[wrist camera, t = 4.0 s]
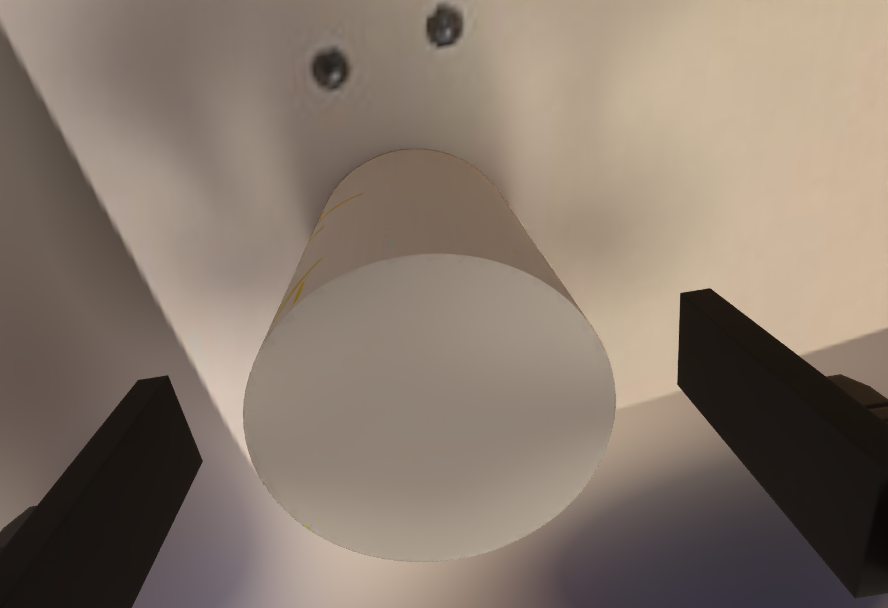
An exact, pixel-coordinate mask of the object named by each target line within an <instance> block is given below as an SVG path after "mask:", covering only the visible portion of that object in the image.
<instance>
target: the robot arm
mask: <svg viewBox="0 0 888 608" xmlns="http://www.w3.org/2000/svg"><path fill="white" fill-rule="evenodd" d="M677 385H678V386H679V387H680V388H681V390H682V391H683V392H684V393H685V394H686V396H687V397H688V398H689V399H690V400H691V402H692V403H693V404H694V405H695V406H696V408H697V409H698V410H699V411H700V412H701V414H702V415H703V416H704V417H705V418H706V419H707V421H708V422H709V423H710V424H711V426H712V427H713V428H714V429H715V430H716V432H717V433H718V434H719V435H720V436H721V438H722V439H723V440H724V441H725V442H726V444H727V445H728V446H729V447H730V448H731V450H732V451H733V452H734V453H735V454H736V455H737V457H738V458H739V459H740V461H742V463H743V464H744V465H745V467H747V469H748V470H749V471H750V473H751V474H752V475H753V476H754V477H755V478H756V480H757V481H758V482H759V483H760V485H761V486H762V487H763V488H764V489H765V491H766V492H767V493H768V494H769V495H770V497H771V498H772V499H773V500H774V501H775V503H776V504H777V505H778V506H779V507H780V509H781V510H782V511H783V512H784V513H785V515H786V516H787V517H788V518H789V519H790V521H791V522H792V523H793V524H794V525H795V527H796V528H797V529H798V530H799V532H800V533H801V534H802V535H803V536H804V537H805V539H806V540H807V541H808V542H809V544H810V545H811V546H812V547H813V548H814V550H816V552H817V553H818V554H819V556H820V557H821V558H822V559H823V560H824V561H825V563H826V564H827V565H828V566H829V568H830V569H831V570H832V571H833V572H834V574H835V575H836V576H837V577H838V578H839V579H840V581H841V582H842V583H843V584H844V586H845V587H846V588H847V589H848V590H849V592H850V593H851V594H852V595H853V596H854V598H859V597H866V596H872V595H878V594H884V593H888V399H887V398H885V397H884V396H882V395H881V394H880V393H878V392H877V391H875V390H874V389H873V388H871V387H870V386H868V385H865V384H863V383H861V382H858V381H855V380H853V379H851V378H848V377H846V376H843V375H841V374H840V375H833V376H828V377H826V376H824V375H823V374H821V373H820V372H819V371H818V370H816V369H815V368H814V367H812V366H811V365H810V364H809V363H807V362H806V361H805V360H803V359H802V358H801V357H799V356H798V355H797V354H796V353H794V352H793V351H792V350H790V349H789V348H788V347H786V346H785V345H784V344H782V343H781V342H780V341H778V340H777V339H776V338H775V337H773V336H772V335H771V334H769V333H768V332H767V331H765V330H764V329H763V328H761V327H760V326H759V325H758V324H756V323H755V322H754V321H752V320H751V319H750V318H748V317H747V316H746V315H744V314H743V313H742V312H741V311H739V310H738V309H737V308H735V307H734V306H733V305H731V304H730V303H729V302H727V301H726V300H725V299H724V298H722V297H721V296H720V295H718V294H717V293H716V292H714V291H713V290H712V289H710V288H709V289H703V290H697V291H690V292H684V293H680V321H679V352H678V382H677ZM202 462H203V461H202V458H201V456H200V453H199V451H198V448H197V446H196V443H195V441H194V438H193V436H192V434H191V431H190V428H189V426H188V423H187V421H186V419H185V416H184V414H183V411H182V409H181V406H180V404H179V401H178V399H177V396H176V394H175V391H174V389H173V386H172V384H171V382H170V379H169V377H168V376H161V377H155V378H149V379H143V380H138V381H137V382H136V383H135V385H134V386H133V387H132V388H131V390H130V391H129V392H128V393H127V395H126V396H125V397H124V398H123V400H122V401H121V402H120V403H119V405H118V406H117V407H116V408H115V409H114V411H113V412H112V413H111V414H110V416H109V417H108V418H107V419H106V421H105V422H104V423H103V425H102V426H101V427H100V428H99V429H98V431H97V432H96V433H95V435H94V436H93V437H92V438H91V439H90V441H89V442H88V443H87V444H86V446H85V447H84V448H83V449H82V451H81V452H80V453H79V454H78V456H77V457H76V458H75V460H74V461H73V462H72V463H71V464H70V466H69V467H68V468H67V469H66V471H65V472H64V473H63V474H62V476H61V477H60V478H59V479H58V481H57V482H56V483H55V484H54V486H53V487H52V488H51V489H50V491H49V492H48V493H47V494H46V495H45V497H44V498H43V499H42V501H41V502H40V503H39V504H38V506H32V507H29V508H28V509H27V510H25V511H24V512H23V513H22V514H21V515H19V516H18V517H17V518H15V519H14V520H13V521H12V522H10V523H9V524H8V525H7V526H6V527H4V528H3V529H2V531H1V532H0V608H132V606H133V604H134V602H135V600H136V598H137V596H138V593H139V592H140V589H141V587H142V585H143V583H144V581H145V579H146V577H147V575H148V573H149V571H150V569H151V567H152V565H153V563H154V561H155V559H156V557H157V554H158V552H159V550H160V548H161V546H162V544H163V542H164V540H165V538H166V536H167V534H168V532H169V530H170V528H171V526H172V523H173V522H174V519H175V517H176V515H177V513H178V511H179V509H180V507H181V505H182V503H183V501H184V499H185V497H186V495H187V493H188V491H189V489H190V486H191V484H192V482H193V480H194V478H195V476H196V474H197V472H198V470H199V468H200V466H201V464H202Z"/></svg>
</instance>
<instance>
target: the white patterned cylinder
mask: <svg viewBox="0 0 888 608" xmlns="http://www.w3.org/2000/svg"><path fill="white" fill-rule="evenodd" d="M615 408H616V394H615V383H614V378H613V373H612V369H611V365H610V362H609V359H608V356H607V354H606V351H605V349H604V347H603V345H602V343H601V341H600V339H599V337H598V335H597V334H596V332H595V331H594V329H593V327H592V326H591V324H590V323H589V322H588V320H587V319H586V317H585V316H584V314H583V313H582V311H581V310H580V308H579V307H578V306H577V304H576V303H575V301H574V300H573V298H572V297H571V295H570V294H569V293H568V291H567V290H566V288H565V287H564V285H563V284H562V282H561V281H560V280H559V278H558V277H557V275H556V274H555V272H554V271H553V269H552V268H551V267H550V265H549V264H548V262H547V261H546V259H545V258H544V256H543V255H542V253H541V252H540V251H539V249H538V248H537V246H536V245H535V243H534V242H533V240H532V239H531V238H530V236H529V235H528V233H527V232H526V230H525V229H524V227H523V226H522V225H521V223H520V222H519V220H518V219H517V217H516V216H515V214H514V213H513V211H512V210H511V209H510V207H509V206H508V204H507V203H506V201H505V200H504V198H503V197H502V196H501V194H500V193H499V191H498V190H497V189H496V187H495V186H494V185H493V183H492V182H491V181H490V180H489V179H488V178H487V177H486V176H485V175H484V174H483V173H481V172H480V171H479V170H478V169H476V168H475V167H473V166H472V165H470V164H469V163H467V162H465V161H463V160H462V159H459V158H457V157H455V156H452V155H449V154H446V153H443V152H439V151H433V150H426V149H406V150H399V151H394V152H390V153H386V154H383V155H380V156H378V157H375V158H373V159H371V160H369V161H367V162H365V163H364V164H362V165H360V166H359V167H357V168H356V169H355V170H353V171H352V172H351V173H350V174H349V175H347V176H346V177H345V178H344V179H343V180H342V181H341V182H340V184H339V185H338V186H337V187H336V189H335V190H334V191H333V193H332V194H331V196H330V198H329V199H328V201H327V203H326V205H325V207H324V210H323V212H322V214H321V216H320V218H319V221H318V223H317V225H316V227H315V229H314V232H313V234H312V236H311V238H310V240H309V243H308V245H307V247H306V249H305V251H304V254H303V256H302V258H301V260H300V262H299V265H298V267H297V269H296V271H295V273H294V276H293V278H292V280H291V282H290V284H289V286H288V289H287V291H286V293H285V295H284V297H283V300H282V302H281V304H280V306H279V308H278V311H277V313H276V315H275V317H274V319H273V322H272V324H271V326H270V328H269V330H268V333H267V335H266V337H265V339H264V341H263V344H262V346H261V348H260V350H259V352H258V355H257V357H256V359H255V361H254V363H253V366H252V369H251V372H250V374H249V378H248V382H247V386H246V390H245V397H244V406H243V424H244V433H245V439H246V443H247V448H248V451H249V454H250V457H251V460H252V463H253V465H254V467H255V469H256V471H257V473H258V475H259V477H260V479H261V481H262V482H263V484H264V485H265V487H266V488H267V490H268V491H269V493H270V494H271V495H272V497H273V498H274V499H275V500H276V501H277V503H278V504H279V505H280V506H281V507H282V508H283V509H284V510H285V511H286V512H287V513H288V514H289V515H291V516H292V517H293V518H294V519H295V520H296V521H298V522H299V523H300V524H302V525H303V526H304V527H306V528H307V529H309V530H310V531H312V532H313V533H315V534H317V535H318V536H320V537H322V538H324V539H326V540H328V541H330V542H332V543H334V544H336V545H338V546H341V547H343V548H346V549H348V550H351V551H354V552H358V553H361V554H364V555H368V556H373V557H377V558H382V559H389V560H396V561H407V562H437V561H447V560H454V559H461V558H465V557H471V556H475V555H479V554H482V553H486V552H489V551H492V550H495V549H498V548H500V547H503V546H506V545H508V544H510V543H513V542H515V541H517V540H519V539H521V538H523V537H525V536H527V535H528V534H530V533H532V532H534V531H535V530H537V529H539V528H540V527H542V526H543V525H544V524H546V523H548V522H549V521H550V520H552V519H553V518H554V517H555V516H557V515H558V514H559V513H560V512H562V511H563V510H564V509H565V508H566V507H567V506H568V505H569V504H570V503H571V502H572V501H573V500H574V499H575V498H576V497H577V496H578V495H579V494H580V492H581V491H582V490H583V489H584V487H585V486H586V485H587V483H588V482H589V480H590V479H591V478H592V476H593V475H594V473H595V471H596V469H597V468H598V466H599V464H600V462H601V460H602V458H603V456H604V454H605V451H606V449H607V446H608V443H609V441H610V437H611V433H612V429H613V424H614V419H615Z"/></svg>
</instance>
